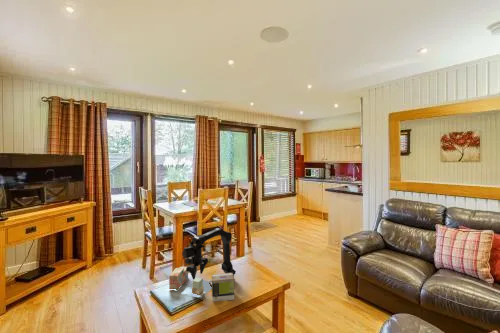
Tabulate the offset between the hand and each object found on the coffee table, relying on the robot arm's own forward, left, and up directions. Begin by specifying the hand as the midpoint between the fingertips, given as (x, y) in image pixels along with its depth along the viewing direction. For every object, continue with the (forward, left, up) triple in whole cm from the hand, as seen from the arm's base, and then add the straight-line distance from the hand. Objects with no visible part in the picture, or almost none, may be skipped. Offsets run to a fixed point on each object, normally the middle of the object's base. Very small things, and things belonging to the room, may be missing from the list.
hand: (197, 276), depth 173 cm
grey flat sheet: (+3, -7, -13) cm, 15 cm away
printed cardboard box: (+21, -7, -13) cm, 26 cm away
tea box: (-18, -4, -13) cm, 23 cm away
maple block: (0, 0, -12) cm, 12 cm away
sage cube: (0, 0, -7) cm, 7 cm away
